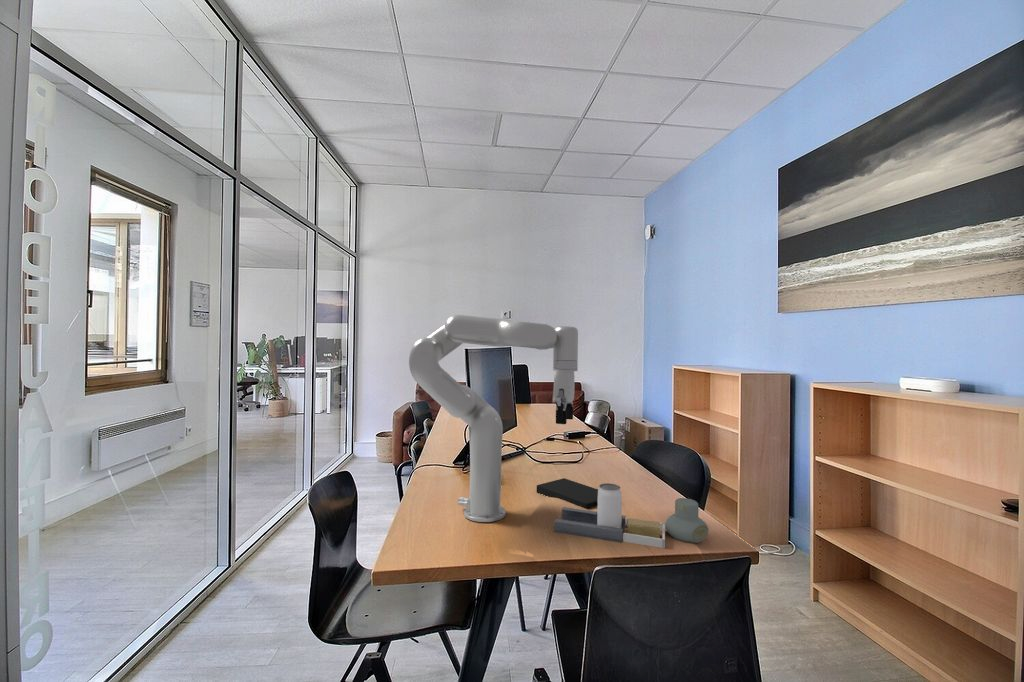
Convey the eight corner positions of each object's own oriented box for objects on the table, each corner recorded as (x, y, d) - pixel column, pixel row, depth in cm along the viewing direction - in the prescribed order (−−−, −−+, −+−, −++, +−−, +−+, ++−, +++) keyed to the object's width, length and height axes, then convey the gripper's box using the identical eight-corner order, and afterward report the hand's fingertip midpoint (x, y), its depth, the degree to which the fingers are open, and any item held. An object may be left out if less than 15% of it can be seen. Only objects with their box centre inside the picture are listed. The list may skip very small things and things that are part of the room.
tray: (623, 545, 111) (623, 533, 111) (626, 528, 122) (626, 517, 122) (664, 552, 108) (664, 540, 108) (664, 534, 118) (664, 523, 118)
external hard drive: (564, 486, 160) (564, 478, 160) (615, 503, 142) (615, 494, 142) (536, 493, 151) (536, 485, 151) (587, 513, 133) (587, 504, 133)
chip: (643, 541, 113) (643, 525, 113) (643, 534, 117) (643, 520, 117) (659, 543, 112) (659, 527, 112) (659, 537, 115) (659, 522, 116)
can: (606, 523, 122) (606, 481, 123) (626, 531, 118) (626, 487, 118) (592, 529, 118) (593, 486, 118) (612, 537, 113) (612, 492, 113)
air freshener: (685, 529, 122) (685, 493, 122) (712, 540, 115) (712, 502, 115) (660, 537, 116) (660, 500, 117) (687, 549, 109) (687, 510, 110)
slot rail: (553, 535, 116) (553, 522, 116) (564, 517, 129) (564, 506, 129) (621, 546, 110) (621, 532, 110) (625, 527, 123) (625, 514, 123)
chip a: (627, 538, 114) (627, 523, 114) (628, 532, 118) (628, 517, 118) (643, 540, 113) (643, 525, 113) (643, 534, 117) (643, 519, 117)
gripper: (559, 365, 143) (559, 416, 142) (546, 366, 126) (545, 425, 126) (582, 365, 140) (581, 418, 140) (571, 367, 124) (570, 426, 123)
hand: (564, 421), depth 133 cm, fingers open, 9 cm apart
